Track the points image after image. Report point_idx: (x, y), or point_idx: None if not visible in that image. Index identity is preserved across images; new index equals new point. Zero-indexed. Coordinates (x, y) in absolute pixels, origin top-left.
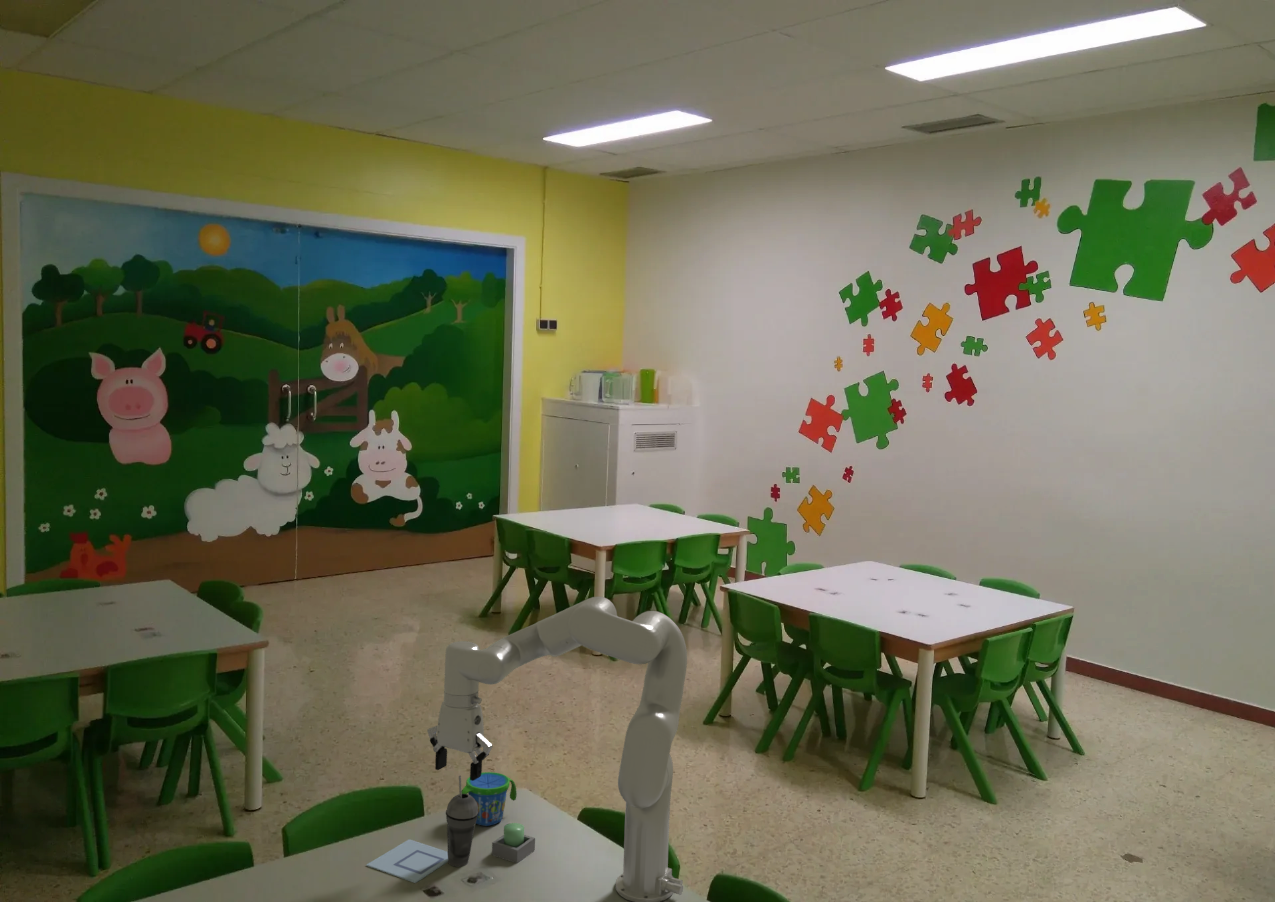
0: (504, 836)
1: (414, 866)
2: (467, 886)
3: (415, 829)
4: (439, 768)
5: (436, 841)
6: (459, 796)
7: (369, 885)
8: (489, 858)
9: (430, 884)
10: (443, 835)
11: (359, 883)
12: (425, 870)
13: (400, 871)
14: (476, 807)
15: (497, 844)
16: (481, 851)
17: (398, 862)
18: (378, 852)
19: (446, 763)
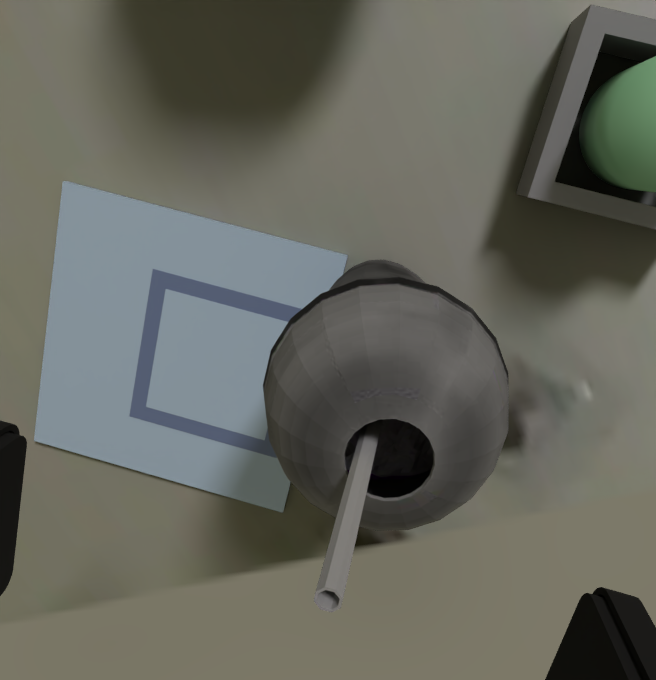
0: (609, 171)
1: (218, 407)
2: (500, 483)
3: (28, 57)
4: (6, 572)
5: (188, 145)
6: (316, 359)
7: (132, 557)
8: (513, 227)
9: None
10: (189, 69)
11: (92, 553)
12: None
13: (186, 457)
14: (506, 413)
15: (564, 205)
16: (447, 170)
17: (139, 395)
18: (12, 325)
19: (5, 445)
